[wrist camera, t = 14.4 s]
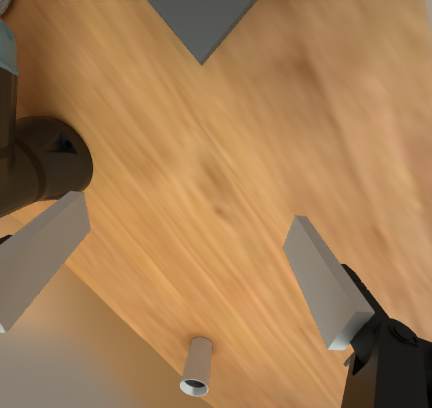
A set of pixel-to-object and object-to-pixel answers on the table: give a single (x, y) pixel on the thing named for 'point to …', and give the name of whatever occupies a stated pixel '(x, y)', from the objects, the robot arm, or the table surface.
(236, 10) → the board
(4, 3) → the pastry
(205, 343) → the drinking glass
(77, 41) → the table surface
